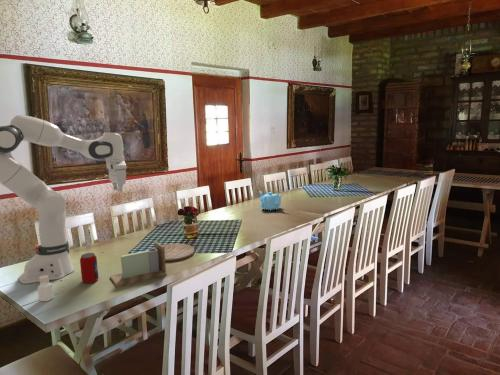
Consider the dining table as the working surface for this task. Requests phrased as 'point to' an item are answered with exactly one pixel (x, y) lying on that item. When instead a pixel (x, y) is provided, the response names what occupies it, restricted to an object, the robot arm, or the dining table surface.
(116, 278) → the cabinet base
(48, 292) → the pepper shaker
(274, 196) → the teapot
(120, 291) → the dining table surface
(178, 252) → the trivet
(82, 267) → the beverage can
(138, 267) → the pale green grey block
